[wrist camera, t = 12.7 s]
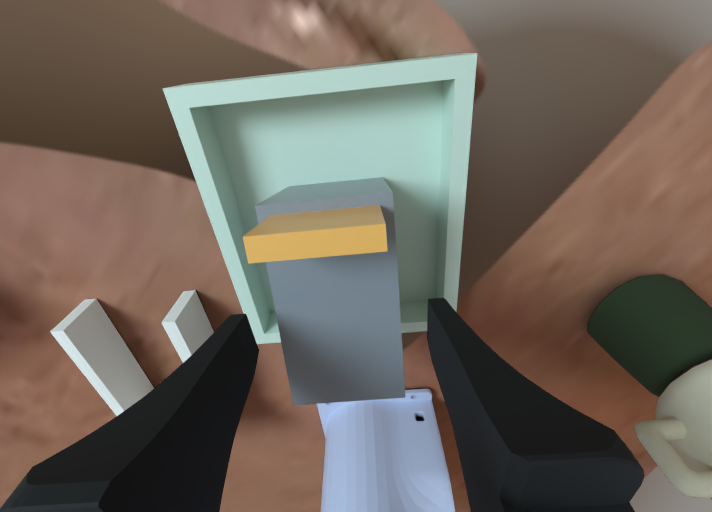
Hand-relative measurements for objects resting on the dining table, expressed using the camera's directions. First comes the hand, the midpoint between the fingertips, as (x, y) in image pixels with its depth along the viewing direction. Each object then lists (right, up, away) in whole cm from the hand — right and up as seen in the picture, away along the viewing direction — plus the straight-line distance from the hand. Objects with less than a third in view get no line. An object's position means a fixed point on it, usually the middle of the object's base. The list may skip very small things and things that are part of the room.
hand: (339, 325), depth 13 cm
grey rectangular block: (0, +2, +6) cm, 6 cm away
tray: (0, +5, +6) cm, 8 cm away
